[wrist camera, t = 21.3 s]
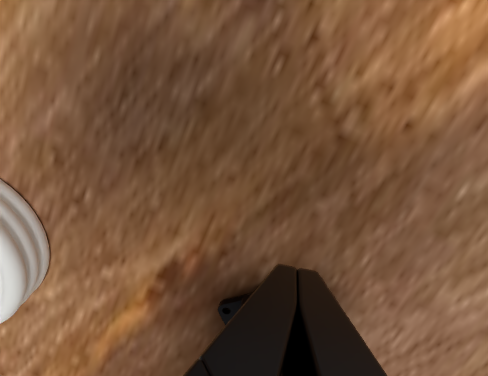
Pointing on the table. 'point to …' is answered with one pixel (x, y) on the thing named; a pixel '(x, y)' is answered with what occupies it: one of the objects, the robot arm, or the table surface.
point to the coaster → (19, 251)
